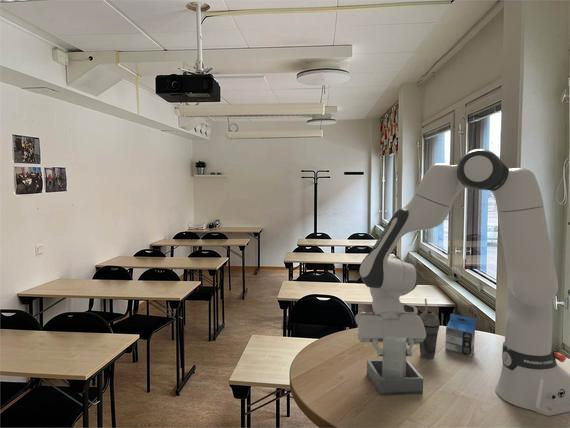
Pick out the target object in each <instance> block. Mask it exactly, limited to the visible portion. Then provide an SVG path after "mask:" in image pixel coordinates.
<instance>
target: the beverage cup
mask: <svg viewBox="0 0 570 428" xmlns="http://www.w3.org/2000/svg"><path fill="white" fill-rule="evenodd" d="M427 301H428V300H427V298H425V299H424V305H425V311H423V312H422V313H421V314H419V315H418V316H419V317H420V318H421V319H422V322H423V324H424V327H425V331H426V338H425V339H424V341H423V342H419V353H420V357H421V358H423V359H425V360H432V359H433V360H434V359H435V354H436V350H437V348H436V347H437V342H438V341H437V340H438V334H439V329H440V326H441V324H440V319H439V317H438V316H437V314H436V313H435V312H432V311H428V304H427Z"/></svg>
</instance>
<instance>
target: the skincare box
mask: <svg viewBox="0 0 570 428" xmlns="http://www.w3.org/2000/svg"><path fill="white" fill-rule="evenodd" d="M406 341H407V338H406V337H400V336H396V335H386V336H385V337H384V338H383V342H382V349H383V353H384V355H383V356H382V359H381V360H382V377H385V378H405V376H406V359H407V356H406V349H407V342H406Z"/></svg>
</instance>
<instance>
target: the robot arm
mask: <svg viewBox="0 0 570 428" xmlns="http://www.w3.org/2000/svg"><path fill="white" fill-rule="evenodd" d="M467 188H468V189H473V190H479V191H481V190H482V191H490V192H491V193H492V194H493V197H494V199H495V204H496V210H497V218H498V224H499V225H498V226H499V230H500V236H501V242H502V249H503V256H504V262H505V268H506V276H507V282H506V283H507V287H506V309H505V330H504V331H505V332H504V334H505V335H504V342H502V343H503V344H502V352H501V353H502V354H501V357H502V359H501V360H502V366H501V370H500V376H499V379H498V382H497V385H496V387H495V392H496V393H497V395H498V396H499V397H500V398H501V399H503V400H504V401H506V402H508V403H509V404H512V405H514V406H516V407H519V408H523V409H526V410H531V411H534V412H536V413H538V414H542V415H545V416H548V417H549V416H554V415H555V416H556V415H559V414H560V415H561V414H564V413H570V412H569V411H570V373H569V372H568V371H567V370H565V369H564V367H561V366H560V365H559V364H558V363H557V361H556V360H558V361H559V362H560V363H564V362H566V359H567V357H566V355H564V354H562V353H561V352H556V351H555V350H554V349H552V342H553V330H554V328H553V327H554V320H553V319H554V317H553V315H554V314H553V300H554V299H555V297H556V295H557V293H558V292H559V291H558V290H559V282H558V281H559V280H558V276H557V270H556V265H555V260H554V256H553V255H554V254H553V250H552V246H551V242H550V241H551V240H550V235H549V231H548V224H547V216H546V211H545V204H544V201H543V195H542V193H541V192H542V191H541V188H540V186H539V182H538V180H537V178H536V176H535V173H534V172H533V171H532V170H530V169H527V168H523V167H515V168H514V167H513V168H508V166H506V165H505V163H504V162H503V161H502V160H501V159H500V157H499V156H498V155H496V153H494V152H493V151H490V150H488V149H486V148H485V149H484V148H476V149H471V150H470V151H468V152H465V154H463V155H462V157H461V158H460V159H459V161H458V163H457V164H450V163H444V162H436V163H434V164H432V165H431V166H430V167H429V168H428V169H427V171H426V172H425V174H424V175H423V177H422V179H421V180H420V182H419V184H418V186H417V188H416V190H415V193H414V195H413V197H412V198H411V199H410V201H409V202H408V203H407V204H406V205H405V206H404V207H402V208H399V209H398V210H396V211H395V213H394V214H393V215H392V216H391V218H390V219H389V221H388V222H387V224H386V226H385V227H384V229H383V230H382V233H381V234H380V235H379V237H378V239H377V240H376V242H375V244H374V245H373V247H372V249H371V250H370V252H369V253H368V254H367V255H366V256H365V257H364V258H363V260H362V261H361V263H360V264H359V270H358V274H359V278H360V279H361V281H362V283H363V284H364V286H366V287H367V288H369V292H370V295H371V298H372V301H371V305H372V311H367V312H366V311H365V312H364V311H359V313H357V314H356V315H355V318H354V319H355V323H356V325H357V338H358V341H359V342H360V343H371V345H372V347H373V348H374V350H375V351H376V354H377V357H383V355H384V353H383V348H380V346H379V345H378V343H383V338H384V337H385V336H386V335H396V336H400V337H406V338H407V341H406V345H407V346H408V348H406V357H413V351H412V349H413V346H414V344H415V343H420V342H423V341H424V339H425V338H426V331H425V327H424V324H423V322H422V319H421V318H420V317H419V316H420V315H418V312H419V311H418V308H417V306H414V305H410V304H407V303H404V302H401V300H400V297H403V296H406V295H407V294H410V293H411V292H413V291H414V290H415V289H416V287H417V286H418V284H419V273H418V270H417V269H416V267H415V266H414V264H412V263H409V262H406V261H403V260H398V259H393V258H389V257H390V256H391V254H392V252H393V250H395V248H396V246H397V244H398V243H399V241H400V240H401V238H403V236H405V235H407V234H409V233H413V232H416V231H423V230H424V231H425V230H431V229H434V228H436V227H439V226H440V225H442V224H443V223H444V222H445V220H447V218H448V215H449V213H450V211H451V209H452V207H453V204H454V202H455V200H456V198H457V196H458V195H459V193H460V192H461V191H462V190H464V189H467Z"/></svg>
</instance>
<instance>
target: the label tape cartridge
mask: <svg viewBox="0 0 570 428" xmlns="http://www.w3.org/2000/svg"><path fill="white" fill-rule="evenodd" d="M462 319H463V320H464V321H463V320H462ZM475 334H476V318H472V317H468V316H463V315H459V314H455V313H450V314H449V321H448V322H447V325H446V327H445V350H447V351H450V352H454V353H458V354H462V355H465V356H467V357H468V356H469V357H472V356H473V355H474V353H475V338H476V337H475V336H476V335H475ZM472 354H473V355H472Z"/></svg>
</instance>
